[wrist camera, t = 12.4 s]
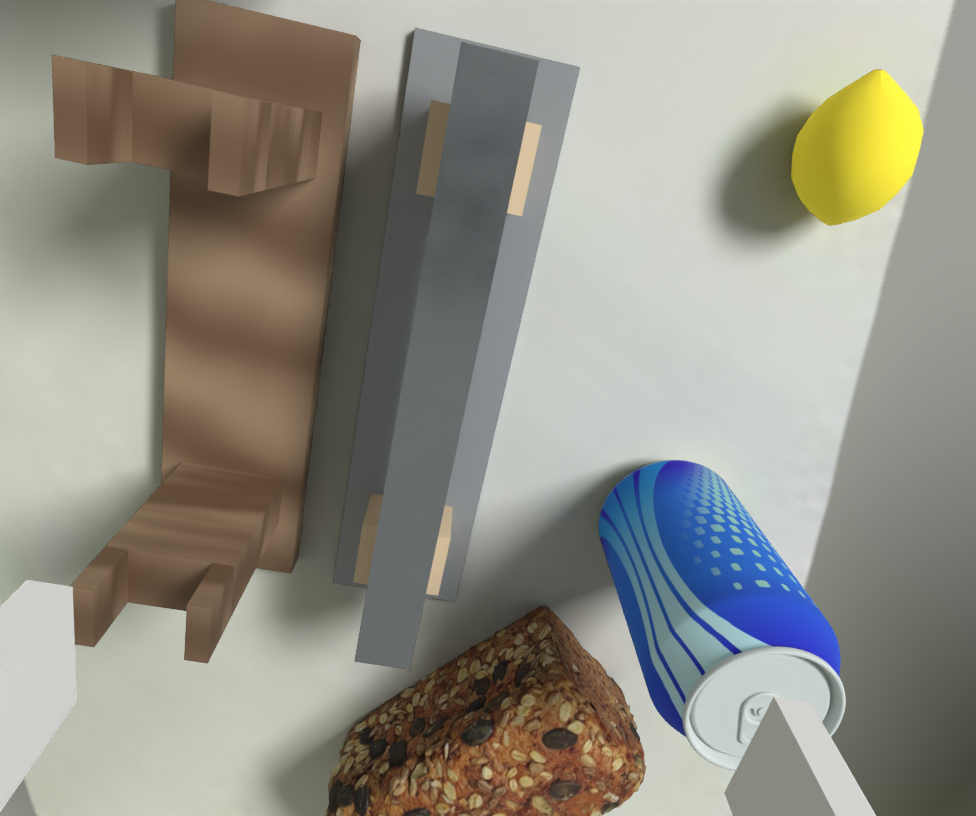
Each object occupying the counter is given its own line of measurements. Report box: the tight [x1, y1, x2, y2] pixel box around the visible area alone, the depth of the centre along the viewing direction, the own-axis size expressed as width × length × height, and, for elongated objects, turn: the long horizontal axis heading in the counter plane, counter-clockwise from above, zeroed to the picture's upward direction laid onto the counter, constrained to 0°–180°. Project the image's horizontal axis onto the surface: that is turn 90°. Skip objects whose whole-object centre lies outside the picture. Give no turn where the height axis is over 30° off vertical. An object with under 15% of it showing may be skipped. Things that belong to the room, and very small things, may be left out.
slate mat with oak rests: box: [333, 28, 580, 602], centre depth 36 cm, size 32×8×4 cm, turn 168°
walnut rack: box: [52, 0, 361, 663], centre depth 31 cm, size 30×8×13 cm, turn 168°
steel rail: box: [355, 42, 539, 670], centre depth 32 cm, size 30×3×4 cm, turn 168°
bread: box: [324, 606, 646, 816], centre depth 43 cm, size 19×11×10 cm, turn 127°
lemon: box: [791, 70, 924, 225], centre depth 32 cm, size 7×5×5 cm
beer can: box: [599, 460, 845, 771], centre depth 34 cm, size 8×8×16 cm
